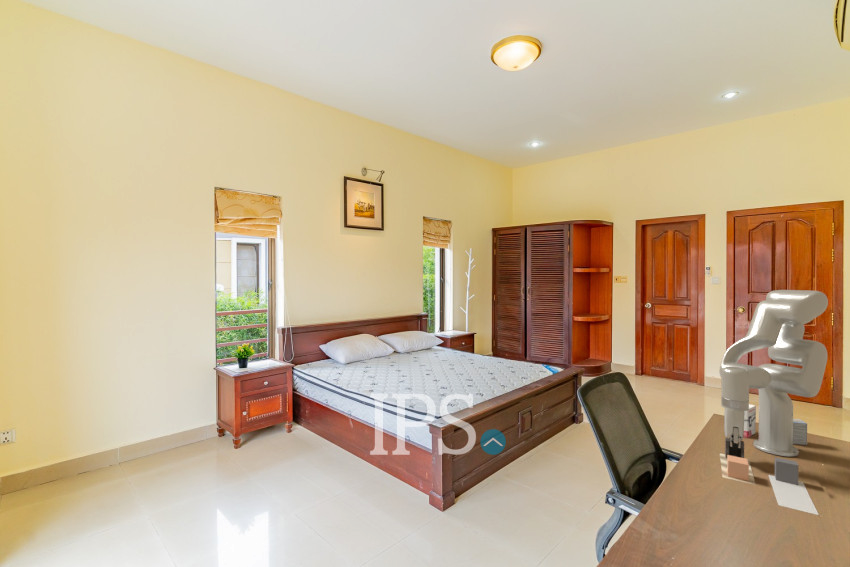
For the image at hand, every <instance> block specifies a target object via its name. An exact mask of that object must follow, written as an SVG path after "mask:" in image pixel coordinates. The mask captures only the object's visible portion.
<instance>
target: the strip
mask: <svg viewBox="0 0 850 567" xmlns="http://www.w3.org/2000/svg"><path fill="white" fill-rule="evenodd" d="M768 478H769V481H770V484H771V487H772V491H773V493H774V496H775V500H776V502H777V504H778V506H780V507H784V508H788V509H792V510H796V511H801V512H804V513H809V514H812V515H816V516H819V513H818V510H817V509H816V506H815V504H814V501H813V500H812V497H811V496H810V493H809V492H808V490H807V488H806V485H805V483H804V482H803V481H799V464H798V462H797V461H795V460H790V459H785V458H780V457H774V475H770V474H768Z"/></svg>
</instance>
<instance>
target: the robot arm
mask: <svg viewBox="0 0 850 567" xmlns="http://www.w3.org/2000/svg"><path fill="white" fill-rule="evenodd" d="M828 306H829V298H828V297H827V295H826V293H823V292H822V291H820V290H807V289H805V290H803V289H802V290H801V289H799V290H797V289H778V290H777V289H775V290H772V291H771V290H770V291H769V292H768V293H767V294H766V297H765V300H761V301H760V302H759V303H757V305H756V306H755V309H754V312H753V316H752V317H751V321H750V324H749V326H748V330H747V332H746V335H745V336H743V337H742V338H740V339H738V340H737V341H736V342H734V343H733V344H732V345H730V346H729V347H728V348H727V349H726V350H725V352H724V355H723V356H722V359H721V362H720V366H719V376H720V377H721V381H720V382H721V386H720V387H721V390H720V391H721V394H720V395H721V396H720V398H721V400H720V402H721V404H720V406H721V407H722V408H724V413H723V415H724V416H723V417H724V418H723V419H724V421H723V422H724V424H723V425H724V426H723V432H724V436H725V438H730V445H729V455H731V456H735V457H740V458H741V447H740V440H741V441H743V440H744V437H743V435H744V411H748V410H749V404H750V389H754V390H756V389H757V390H758V439H754V440H753V441H752V442H753V443H752V444H753V446H754V448H756V449H758V450H759V451H762V452H765V453H769V454H771V455H775V456H781V457H792V458H793V457H797V456H799V453H800V451H799V449H798V448H796V447H795V446H794V444H793V419H794V403H793V401H792V399H791V398H790V396H789V395H788V394H790V395H794V396H798V397H804V398H813V397H816V396H817V395H818V393H819V392H820V390H821V386H822V383H823V380H824V379H823V378H824V374H825V371H826V368H827V367H826V366H827V363H828V351H827V347H826V346H825V344H824V343H822V342H820V341H817V340H812V339H804V334H805V330H806V328H805V324H808V323H810V322H811V321H814V320H815V319H816V318H817V317H818V318H819V316H820V315H822V314H823V313H824V312H825V311H826V309H827V308H828ZM761 349H763V350H764V349H767V355H768V357H769V359H771V360H773V361H775V362H778V363H784V364H789V365H795V366H801V367H802V368H800V367H794V366H788V365H782V364H776V363H763V364H761V365H758V366H754V365H749V364H745V363H739V360H741V358H742V357H743V356H744V355H746V354H749V353H750V352H754V351H758V350H761ZM732 439H733V440H732Z"/></svg>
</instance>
